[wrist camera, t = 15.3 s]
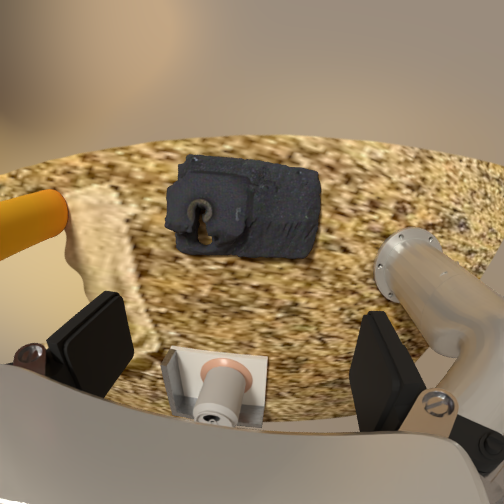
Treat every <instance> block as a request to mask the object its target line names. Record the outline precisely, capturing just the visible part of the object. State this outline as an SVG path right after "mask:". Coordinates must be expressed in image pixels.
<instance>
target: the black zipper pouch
mask: <svg viewBox="0 0 504 504" xmlns="http://www.w3.org/2000/svg"><path fill="white" fill-rule="evenodd" d="M320 193H321V186H320V181H319V179H318V172H317V171H313V170H308V169H305V168H300V167H288V166H287V165H281V164H273V163H270V162H264V161H260V160H249V159H246V160H244V159H241V158H239V159H238V158H228V157H213V156H204V155H192V154H189V155H187V156H186V161H185V162H184V163H183V164H178V181H176V182H175V183H174V184H173V185H171V186H170V187H168V188H167V196H166V199H167V215H166V218H165V227H166V228H167V229H169V230H173V231H174V232H176V233H175V237H176V244H177V245H176V248H177V249H178V250H179V251H180V252H182V253H188V254H191V255H237V256H238V257H249V258H257V257H266V258H267V257H276V258H279V257H283V258H290V259H297V258H301V259H303V258H305V257H307V255H308V254H309V252H310V251H311V249H312V247H313V244H314V241H315V236H316V232H317V230H318V218H319V214H320V196H319V194H320ZM201 209H202V210H206V212H205V214H202V220H203V222H204V223H205V224H206V230H207V233H208V236H212V243H211V244H209V245H204V244H202V243H201V242H199V240H198V228H199V225H200V223H199V217H200V210H201Z"/></svg>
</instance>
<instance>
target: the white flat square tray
mask: <svg viewBox="0 0 504 504" xmlns="http://www.w3.org/2000/svg"><path fill="white" fill-rule="evenodd" d="M170 349H175V350H176V352H177V359H178V365H179V370H180V376H181V382H182V387H183V392H184V396H187V397H193V398H198V396H199V393H200V391H201V388H202V385H203V383H204V380H205V378H206V375H207V373H208V372H209V370H211V369H212V368H215V367H219V366H226V367H230V368H233V369H235V370H237V371H238V372H240V373H241V374H242V375H243V377H244V378H245V381H246V386H245V390H244V395H243V400H242V404H244V405H255V406H265V392H266V376H267V360H268V356H255V355H243V354H233V353H223V352H214V351H206V350H198V349H191V348H184V347H177V346H171V348H170Z"/></svg>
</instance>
